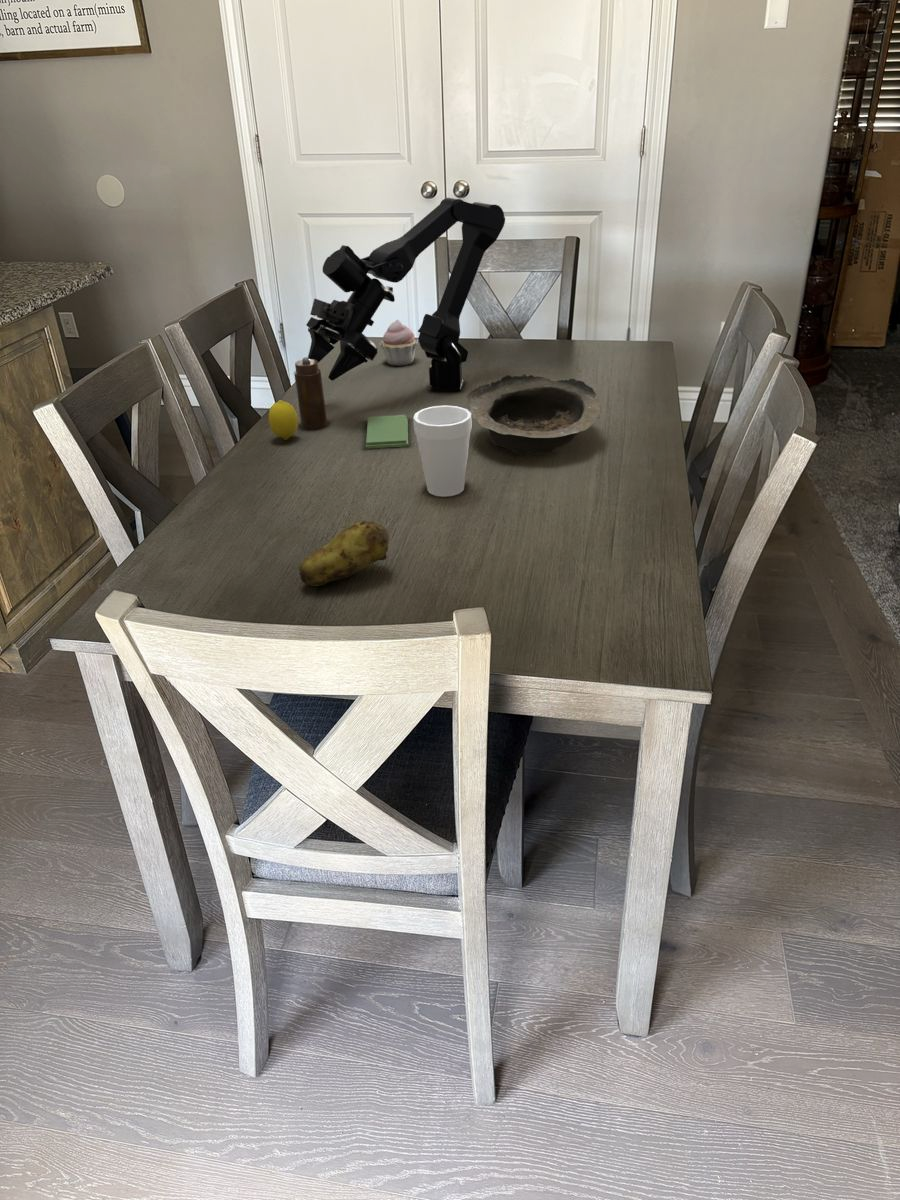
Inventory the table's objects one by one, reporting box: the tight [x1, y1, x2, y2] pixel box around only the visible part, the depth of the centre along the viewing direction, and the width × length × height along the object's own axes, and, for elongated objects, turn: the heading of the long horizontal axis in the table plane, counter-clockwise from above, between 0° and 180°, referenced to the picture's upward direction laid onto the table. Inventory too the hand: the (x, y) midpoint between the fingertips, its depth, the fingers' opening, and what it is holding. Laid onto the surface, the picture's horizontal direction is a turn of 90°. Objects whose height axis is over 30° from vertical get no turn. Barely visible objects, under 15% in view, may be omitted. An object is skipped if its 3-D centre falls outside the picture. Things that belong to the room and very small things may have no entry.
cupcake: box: [379, 319, 419, 367], centre depth 206 cm, size 9×9×10 cm
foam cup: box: [412, 404, 473, 498], centre depth 144 cm, size 10×9×13 cm
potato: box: [298, 519, 390, 587], centre depth 122 cm, size 8×13×8 cm, turn 95°
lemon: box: [268, 399, 299, 441], centre depth 167 cm, size 6×6×8 cm
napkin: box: [365, 414, 409, 450], centre depth 169 cm, size 8×14×1 cm, turn 3°
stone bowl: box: [465, 374, 602, 455], centre depth 162 cm, size 25×25×9 cm
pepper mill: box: [293, 356, 328, 431], centre depth 172 cm, size 5×5×14 cm
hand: (318, 373), depth 171 cm, fingers open, 9 cm apart
